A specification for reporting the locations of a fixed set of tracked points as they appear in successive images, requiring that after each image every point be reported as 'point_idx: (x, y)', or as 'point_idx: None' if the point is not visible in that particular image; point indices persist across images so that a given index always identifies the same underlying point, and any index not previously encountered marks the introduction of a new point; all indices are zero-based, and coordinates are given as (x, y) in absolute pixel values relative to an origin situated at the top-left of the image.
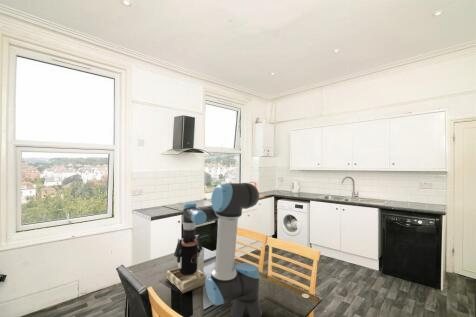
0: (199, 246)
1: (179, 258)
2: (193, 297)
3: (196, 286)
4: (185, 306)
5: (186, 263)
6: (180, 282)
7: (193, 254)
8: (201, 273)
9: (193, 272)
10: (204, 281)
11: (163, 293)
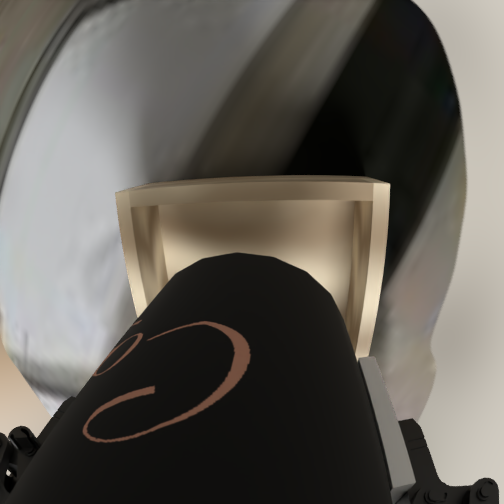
0: (2, 493)
1: (413, 471)
2: (322, 78)
3: (237, 177)
4: (406, 41)
5: (335, 361)
6: (386, 229)
7: (135, 474)
8: (137, 257)
9: (226, 254)
10: (156, 184)
11: (446, 261)
